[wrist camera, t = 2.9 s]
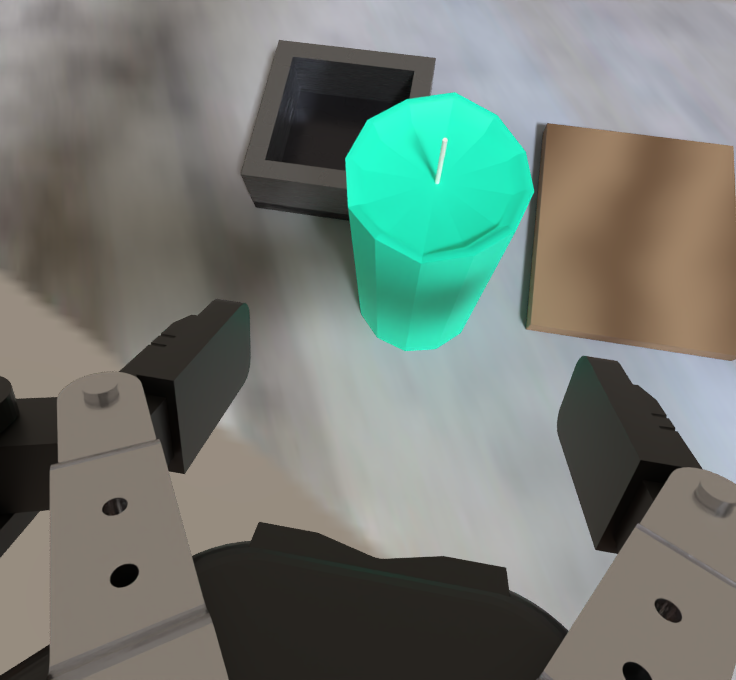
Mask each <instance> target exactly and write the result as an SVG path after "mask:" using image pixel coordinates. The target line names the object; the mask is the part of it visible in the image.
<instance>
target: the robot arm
mask: <svg viewBox="0 0 736 680" xmlns="http://www.w3.org/2000/svg"><path fill="white" fill-rule="evenodd" d="M249 368H250V315H249V308H248V305H247V304H246V303H240V302H233V301H227V300H220V299H215V300H214V301H212V302H211V303H210V304H209V305H208V306H207V307H206V308H205V309H204V310H203V311H202V312H201V313H200V314H199V315H198V316H196V315H190V316H188V317H186V318H183V319H181V320H179V321H176V322H174V323H173V324H171V325H170V326H169V327H168V328H167V329H166V330H165V331H164V332H163V333H161V336H158V337H157V338H156V339H155V340H154V341H153V342H151V345H148V346H147V347H146V348H145V349H144V350H143V351H141V352H140V353H139V354H138V355H137V356H136V357H135V358H134V359H133V360H131V361H130V362H129V363H128V364H127V365H126V366H125V367H124V368H123V369H121V370H120V371H119V372H101V373H95V374H91V375H88V376H84V377H82V378H79V379H77V380H75V381H73V382H71V383H70V384H68V385H67V386H66V387H65V388H63V389H62V391H61V392H60V393H59V395H58V397H51V398H26V399H16V398H15V395H14V392H13V389H12V386H11V383H10V382H9V381H8V380H7V379H6V378H4V377H1V376H0V557H1V556H2V555H3V554H4V553H5V552H6V550H7V549H8V548H9V547H10V545H11V544H12V543H13V542H14V541H15V540H16V539H17V537H18V536H19V535H20V534H21V533H22V532H23V530H24V529H25V528H26V527H27V526H28V524H29V523H30V522H31V521H32V520H33V519H34V517H35V516H36V515H37V514H38V513H39V512H40V511H44V510H50V644H49V645H48V646H46V647H45V648H43V649H42V650H40V651H38V652H37V653H35V654H34V655H32V656H30V657H29V658H27V659H26V660H24V661H23V662H21V663H20V664H18V665H17V666H15V667H13V668H11V669H10V670H8V671H7V672H5V673H4V674H2V675H0V680H731V678H732V675H733V671H734V668H735V664H736V484H735V483H733V482H731V481H730V480H728V479H726V478H724V477H722V476H720V475H718V474H715V473H712V472H710V471H707V470H703V469H702V467H701V466H700V464H699V463H698V461H697V460H696V458H695V457H694V455H693V454H692V452H691V451H690V449H689V448H688V446H687V445H686V444H685V442H684V441H683V439H682V438H681V436H680V435H679V433H678V432H677V431H675V427H674V426H673V424H672V423H671V421H670V420H669V418H666V416H667V415H666V414H665V412H664V411H663V409H662V408H661V406H660V405H659V403H658V402H657V400H656V399H655V398H653V397H652V396H651V395H650V394H648V393H647V392H646V391H645V390H643V389H642V388H641V387H640V386H638V385H633V384H632V383H631V381H630V379H629V378H628V376H627V375H626V373H625V371H624V370H623V368H622V367H621V365H620V364H619V362H617V361H614V360H607V359H601V358H594V357H588V356H582V357H581V358H580V359H579V360H578V362H577V364H576V366H575V369H574V372H573V374H572V377H571V380H570V383H569V385H568V388H567V391H566V393H565V396H564V399H563V402H562V404H561V407H560V410H559V414H558V420H557V432H558V436H559V440H560V443H561V446H562V449H563V452H564V455H565V458H566V461H567V464H568V467H569V470H570V473H571V476H572V480H573V483H574V486H575V489H576V492H577V495H578V498H579V501H580V504H581V507H582V510H583V513H584V516H585V519H586V523H587V526H588V529H589V532H590V535H591V538H592V541H593V544H594V547H595V550H599V551H605V552H610V553H616V554H618V555H617V556H616V558H615V560H614V561H613V563H612V564H611V566H610V567H609V569H608V571H607V572H606V574H605V575H604V577H603V578H602V580H601V581H600V583H599V585H598V586H597V588H596V589H595V591H594V592H593V594H592V596H591V597H590V599H589V600H588V602H587V603H586V605H585V607H584V608H583V610H582V611H581V613H580V614H579V616H578V618H577V619H576V621H575V622H574V624H573V625H572V627H571V629H570V630H569V631H568V630H567V629H566V628H565V627H564V626H563V625H562V624H561V623H559V622H558V621H557V620H556V619H555V618H553V617H552V616H551V615H550V614H549V613H547V612H546V611H544V610H543V609H542V608H540V607H539V606H537V605H536V604H534V603H533V602H531V601H529V600H528V599H526V598H524V597H522V596H520V595H519V594H517V593H515V592H512V591H510V590H509V586H508V579H507V571H506V568H505V567H499V566H494V565H488V564H483V563H478V562H472V561H467V560H462V559H456V558H451V557H445V556H437V557H415V558H394V559H379V558H375V557H372V556H370V555H367V554H365V553H363V552H361V551H358V550H356V549H354V548H351V547H349V546H346V545H345V544H342V543H340V542H338V541H335V540H333V539H331V538H328V537H326V536H324V535H322V534H319V533H316V532H310V531H305V530H300V529H294V528H289V527H284V526H279V525H273V524H268V523H262V522H259V523H258V525H257V528H256V530H255V533H254V535H253V537H252V540H251V541H244V542H237V543H230V544H225V545H222V546H218V547H214V548H211V549H208V550H205V551H203V552H200V553H198V554H195V555H193V556H192V555H191V552H190V548H189V544H188V541H187V537H186V533H185V530H184V526H183V522H182V519H181V515H180V511H179V508H178V504H177V500H176V497H175V493H174V489H173V486H172V482H171V478H170V475H169V471H170V472H176V473H182V474H185V473H186V471H187V470H188V468H189V467H190V465H191V464H192V462H193V460H194V459H195V457H196V456H197V454H198V453H199V451H200V450H201V448H202V447H203V445H204V443H205V442H206V441H207V439H208V438H209V436H210V435H211V433H212V431H213V430H214V429H215V427H216V425H217V424H218V422H219V421H220V419H221V418H222V416H223V415H224V413H225V412H226V410H227V409H228V407H229V406H230V404H231V403H232V401H233V400H234V398H235V396H236V395H237V393H238V392H239V390H240V389H241V387H242V386H243V384H244V383H245V381H246V378H247V376H248V372H249Z"/></svg>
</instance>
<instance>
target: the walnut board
mask: <svg viewBox="0 0 736 680" xmlns="http://www.w3.org/2000/svg"><path fill="white" fill-rule="evenodd" d="M526 329H527V330H534V331H540V332H547V333H553V334H560V335H566V336H573V337H579V338H586V339H592V340H599V341H605V342H612V343H618V344H625V345H631V346H638V347H644V348H651V349H657V350H664V351H670V352H677V353H683V354H690V355H696V356H703V357H709V358H716V359H722V360H729V361H732V360H735V359H736V196H735V174H734V151H733V146H728V145H720V144H712V143H704V142H695V141H687V140H679V139H671V138H663V137H655V136H647V135H638V134H630V133H622V132H614V131H606V130H598V129H590V128H582V127H573V126H565V125H557V124H549V123H547V126H546V128H545V130H544V132H543V138H542V149H541V161H540V173H539V184H538V196H537V208H536V219H535V231H534V242H533V254H532V266H531V277H530V289H529V301H528V312H527V324H526Z"/></svg>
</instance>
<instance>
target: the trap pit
mask: <svg viewBox="0 0 736 680" xmlns="http://www.w3.org/2000/svg"><path fill="white" fill-rule="evenodd" d="M435 60H436V58H430V57H422V56H413V55H404V54H396V53H387V52H378V51H370V50H361V49H352V48H343V47H335V46H326V45H317V44H309V43H300V42H291V41H283V40H279V42H278V46H277V49H276V53H275V56H274V60H273V63H272V67H271V70H270V74H269V77H268V81H267V84H266V88H265V91H264V95H263V98H262V102H261V105H260V109H259V112H258V116H257V119H256V123H255V126H254V130H253V133H252V137H251V140H250V144H249V147H248V151H247V154H246V158H245V161H244V165H243V168H242V172H241V176H242V178H243V180H244V182H245V185H246V187H247V189H248V191H249V193H250V196H251V198H252V200H253V202H254V204H255V207H257V208H264V209H271V210H278V211H286V212H293V213H300V214H307V215H314V216H321V217H328V218H335V219H342V220H349V221H350V219H349V211H348V197H347V180H346V162H345V158H346V156H347V155H348V153H349V151H350V149H351V148H352V146H353V144H354V142H355V141H356V139H357V137H358V136H359V134H360V132H361V130H362V129H363V127H364V125H365V123H366V122H367V120H368V119H370V118H372V117H374V116H376V115H378V114H380V113H382V112H384V111H385V110H387V109H389V108H391V107H393V106H395V105H397V104H399V103H401V102H403V101H404V100H406V99H412V98H419V97H426V96H431V91H432V83H433V76H434V68H435Z"/></svg>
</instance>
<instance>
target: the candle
mask: <svg viewBox="0 0 736 680" xmlns="http://www.w3.org/2000/svg"><path fill="white" fill-rule="evenodd" d="M345 162H346V180H347V197H348V211H349V219H350V228H351V236H352V244H353V252H354V260H355V269H356V277H357V285H358V293H359V302H360V310H361V315H362V316H363V318H364V319H365V320H366V322H367V323H368V325H369V326H370V328H371V329H372V331H373V332H374V333H375V335H376V336H377V338H379V339H381V340H383V341H385V342H387V343H389V344H391V345H394V346H396V347H398V348H400V349H402V350H404V351H413V350H430V349H437V348H438V347H440V346H441V345H443V344H444V343H446V342H448V341H449V340H451V339H452V338H454V337H455V336H457V335H458V334H460V333H461V332H462V330H463V328H464V326H465V324H466V322H467V320H468V319H469V317H470V315H471V313H472V311H473V309H474V307H475V306H476V304H477V302H478V300H479V298H480V296H481V294H482V293H483V291H484V289H485V287H486V285H487V283H488V282H489V280H490V278H491V276H492V274H493V272H494V270H495V269H496V267H497V265H498V263H499V261H500V259H501V257H502V256H503V254H504V252H505V250H506V248H507V246H508V244H509V243H510V241H511V239H512V237H513V235H514V233H515V232H516V229H517V227H518V225H519V223H520V221H521V219H522V217H523V215H524V212H525V210H526V208H527V206H528V204H529V202H530V200H531V198H532V195H533V193H534V188H533V183H532V179H531V174H530V169H529V165H528V160H527V155H526V152H525V150H524V149H523V148H522V146H521V145H520V144H519V143H518V141H517V140H516V139H515V137H514V136H513V135H512V134H511V132H510V131H509V130H508V128H507V127H506V126H505V125H504V123H503V122H502V121H501V119H500V118H499V117H498V116H497V115H496V114H494V113H492V112H490V111H488V110H487V109H485V108H483V107H481V106H479V105H477V104H475V103H474V102H472V101H470V100H468V99H466V98H464V97H462V96H461V95H459V94H457V93H455V92H454V93H447V94H440V95H433V96H426V97H419V98H412V99H406V100H404V101H403V102H401V103H399V104H397V105H395V106H393V107H391V108H389V109H387V110H385V111H384V112H382V113H380V114H378V115H376V116H374V117H372V118H370V119H368V120H367V122H366V123H365V125H364V127H363V129H362V130H361V132H360V134H359V136H358V137H357V139H356V141H355V142H354V144H353V146H352V148H351V149H350V151H349V153H348V155H347V156H346V158H345Z"/></svg>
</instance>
